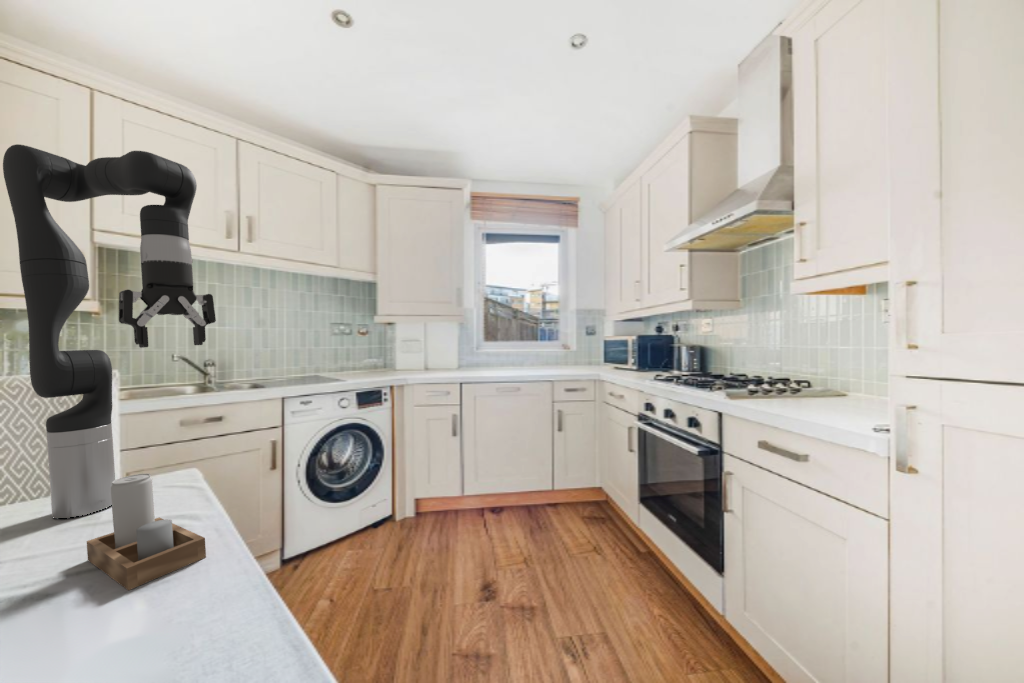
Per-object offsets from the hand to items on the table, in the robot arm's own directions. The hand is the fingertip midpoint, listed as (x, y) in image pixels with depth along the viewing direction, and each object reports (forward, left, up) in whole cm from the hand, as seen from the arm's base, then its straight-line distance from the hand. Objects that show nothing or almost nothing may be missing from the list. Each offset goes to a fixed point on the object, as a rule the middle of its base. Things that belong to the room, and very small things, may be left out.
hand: (172, 346), depth 78 cm
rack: (+14, -10, -33) cm, 37 cm away
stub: (+18, -10, -33) cm, 39 cm away
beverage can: (+10, -10, -33) cm, 36 cm away
